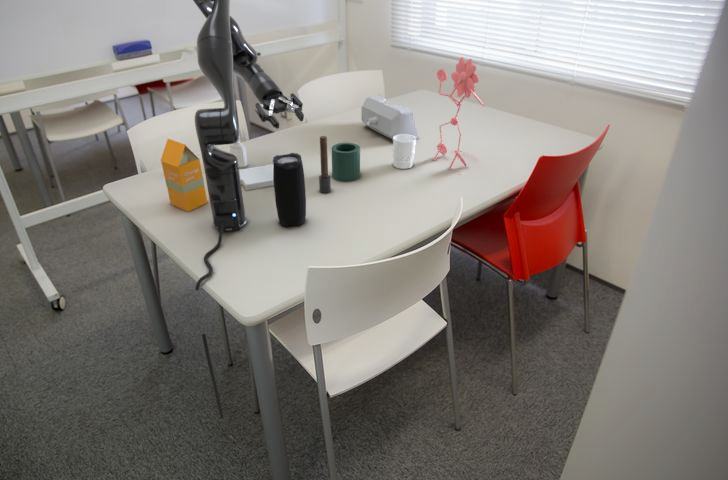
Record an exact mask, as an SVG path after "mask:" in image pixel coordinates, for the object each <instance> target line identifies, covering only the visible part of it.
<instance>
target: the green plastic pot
mask: <svg viewBox="0 0 728 480" xmlns="http://www.w3.org/2000/svg"><path fill="white" fill-rule="evenodd" d="M331 176H332V178H333V180H335V181H338V182H339V181H340V182H353V181H356V180H358V179H359V178H360V177H361V147H360V145H359V144H357V143H353V142H338V143H335V144H334V145H332V146H331Z"/></svg>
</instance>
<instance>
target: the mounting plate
mask: <svg viewBox="0 0 728 480" xmlns="http://www.w3.org/2000/svg"><path fill="white" fill-rule="evenodd" d="M273 165H274V163H271V164H266V165H260V166H253V167H248V168H243V169H241V168H240V169H239V173H240V180H241V186H243V187H244V188H245V190H246V191H251V190H256V189H262V188H267V187H274V181H273Z"/></svg>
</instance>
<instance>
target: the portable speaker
mask: <svg viewBox="0 0 728 480" xmlns="http://www.w3.org/2000/svg"><path fill="white" fill-rule="evenodd" d="M272 163H273V164H274V165H273V181H274V185H273V190H274V198H275V199H274V200H275V208H276V213H277V218H278V223H279V225H280V226H282V227H284V228H288V226H295V225H297V226H298V227H301V226H303V225H304V224H305V223H306V216H307V195H306V182H305V180H306V179H305V171H304V164H303V160H302V155H301V154H299V153H295V152H291V153H287V154H276V155H275V156H274V157H273V158H272Z"/></svg>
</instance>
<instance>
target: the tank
mask: <svg viewBox="0 0 728 480" xmlns="http://www.w3.org/2000/svg"><path fill="white" fill-rule="evenodd" d="M386 100H387V99H386V98H385V97H383V96H380V95H378V94H376V95H369V96H367V97H366V98H365V100H364V102H363V104H362V106H361V113H360V114H361V115H360V116H361V117H360V119H361V122H362V123H363V124H364V125H365V126H366V127H367V128H369V129H370V130H373V131H375V132H377V133H378V134H380V135H382V136H384V137H385V138H388V139H390V140H392V141H393V137H394V136H396V135H399V134H409V135H413V136H415V137H416V140H417V139H418V138H419V135H418V130H417V127H416V123H415V120H414V119H415V118H414V115H413V112H412V110H411V109H410V108H408V107H405V106H404V105H401V104H397V103H396V104H389V103H385V101H386Z"/></svg>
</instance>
